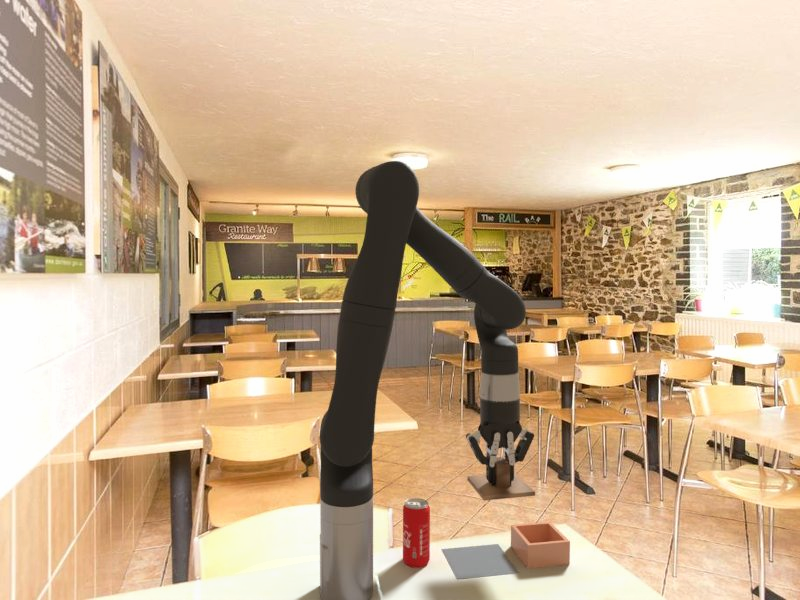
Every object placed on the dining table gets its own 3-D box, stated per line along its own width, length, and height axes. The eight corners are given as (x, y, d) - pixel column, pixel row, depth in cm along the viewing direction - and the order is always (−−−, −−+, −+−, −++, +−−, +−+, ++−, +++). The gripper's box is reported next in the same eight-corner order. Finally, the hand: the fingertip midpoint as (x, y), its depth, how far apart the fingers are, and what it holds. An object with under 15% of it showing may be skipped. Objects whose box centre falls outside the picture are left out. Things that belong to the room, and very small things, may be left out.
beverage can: (427, 572, 102) (427, 510, 102) (400, 569, 104) (400, 507, 103) (431, 558, 108) (431, 498, 107) (405, 555, 109) (405, 496, 108)
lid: (483, 500, 100) (483, 472, 100) (467, 480, 110) (467, 454, 109) (535, 495, 102) (535, 467, 101) (514, 476, 112) (514, 450, 111)
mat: (457, 582, 99) (457, 579, 99) (441, 552, 110) (441, 549, 110) (519, 575, 101) (519, 572, 101) (498, 546, 112) (498, 543, 112)
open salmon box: (527, 571, 103) (528, 545, 103) (510, 548, 111) (511, 524, 111) (569, 566, 105) (569, 541, 104) (549, 545, 113) (549, 521, 113)
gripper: (471, 401, 100) (471, 494, 101) (542, 397, 102) (542, 487, 103) (459, 393, 107) (460, 479, 108) (525, 389, 110) (526, 473, 111)
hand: (500, 483), depth 106 cm, fingers closed on lid, 2 cm apart
